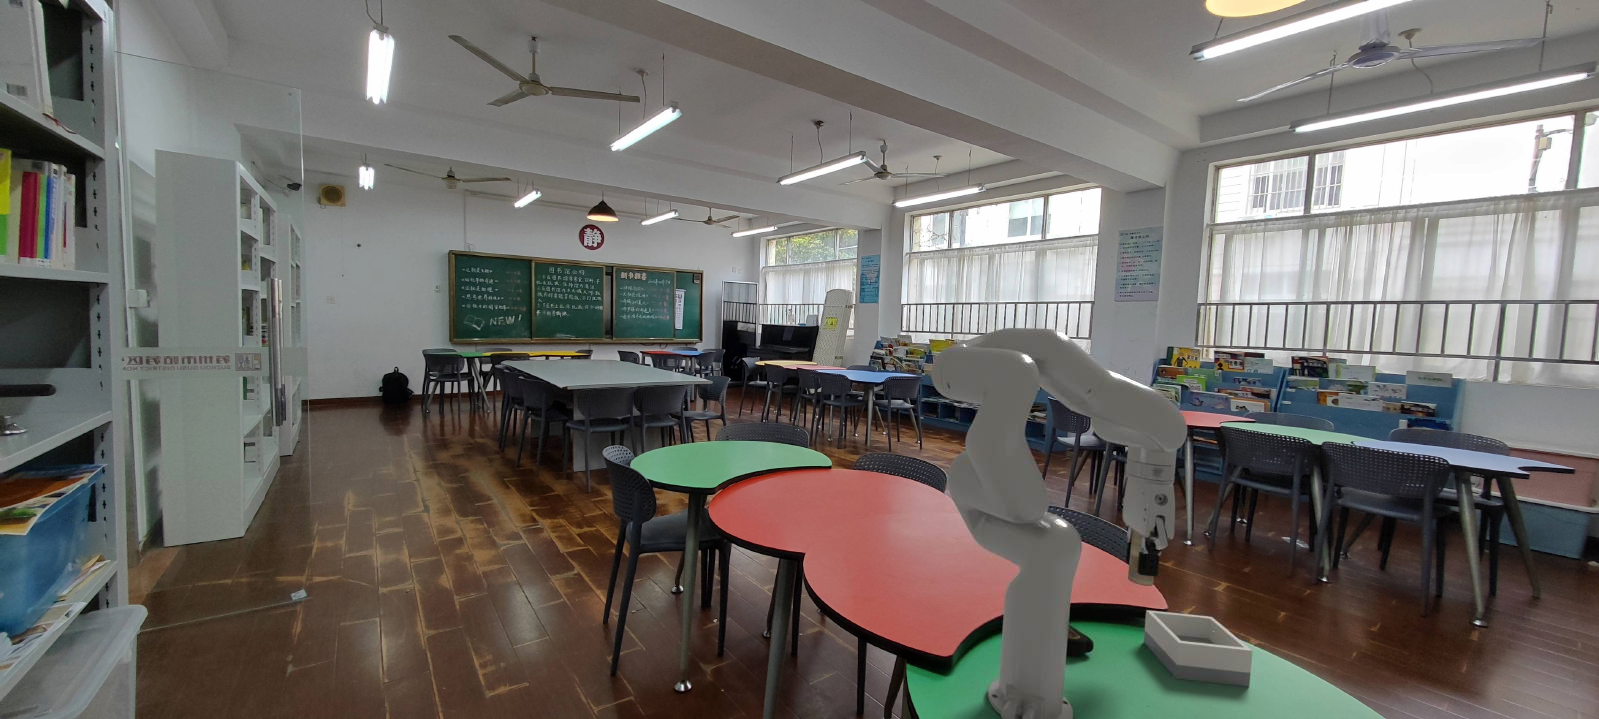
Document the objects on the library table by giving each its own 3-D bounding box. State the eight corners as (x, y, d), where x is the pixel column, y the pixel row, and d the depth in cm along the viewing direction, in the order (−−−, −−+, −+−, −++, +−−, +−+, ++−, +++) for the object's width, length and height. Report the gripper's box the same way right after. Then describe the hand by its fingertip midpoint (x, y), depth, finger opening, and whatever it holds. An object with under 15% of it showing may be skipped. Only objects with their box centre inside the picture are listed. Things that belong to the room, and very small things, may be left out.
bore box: (1249, 686, 100) (1252, 650, 99) (1175, 678, 101) (1178, 642, 101) (1208, 649, 112) (1211, 616, 111) (1143, 642, 113) (1146, 610, 113)
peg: (1152, 588, 102) (1158, 533, 101) (1126, 581, 104) (1132, 527, 104) (1153, 580, 105) (1158, 527, 105) (1128, 574, 107) (1133, 522, 107)
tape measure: (1094, 657, 107) (1096, 638, 107) (1065, 662, 105) (1067, 642, 105) (1067, 638, 113) (1069, 620, 113) (1039, 642, 111) (1040, 623, 111)
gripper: (1198, 484, 95) (1188, 592, 96) (1149, 463, 112) (1141, 554, 112) (1150, 480, 96) (1140, 587, 97) (1109, 459, 112) (1101, 550, 113)
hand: (1141, 568), depth 105 cm, fingers closed on peg, 4 cm apart
